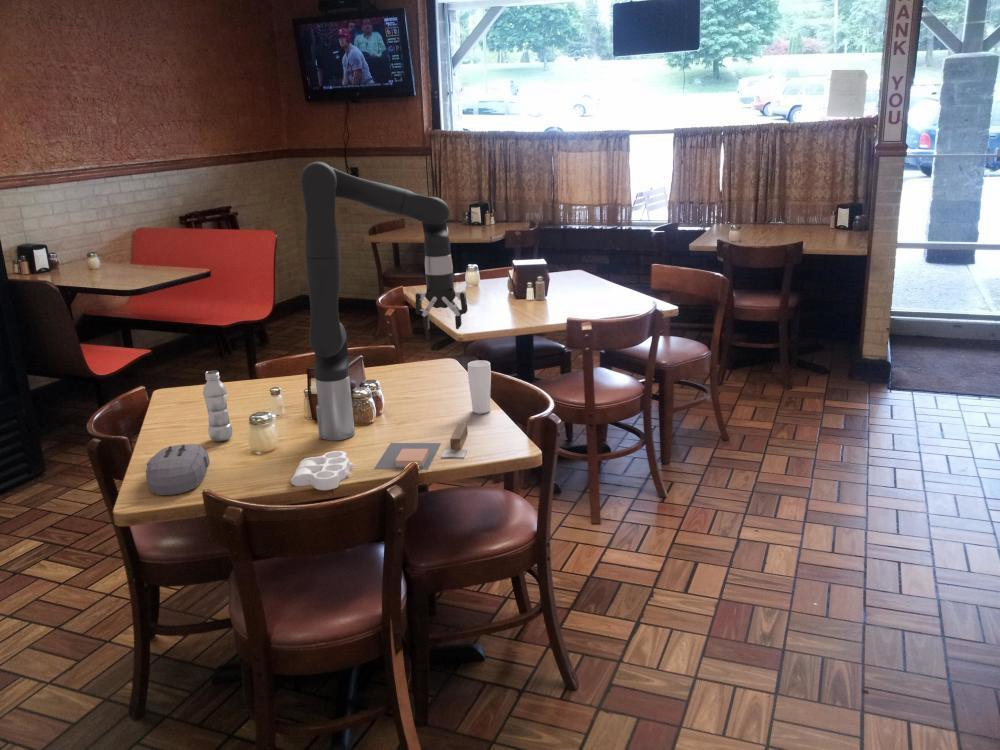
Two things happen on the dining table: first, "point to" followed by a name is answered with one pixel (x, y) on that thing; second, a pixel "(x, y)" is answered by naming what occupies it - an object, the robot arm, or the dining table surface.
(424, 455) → the tile
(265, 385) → the dining table surface
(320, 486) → the white compartment holder
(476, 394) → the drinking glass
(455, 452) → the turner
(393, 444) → the mat
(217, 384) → the plastic bottle
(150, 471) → the grey rounded bag
